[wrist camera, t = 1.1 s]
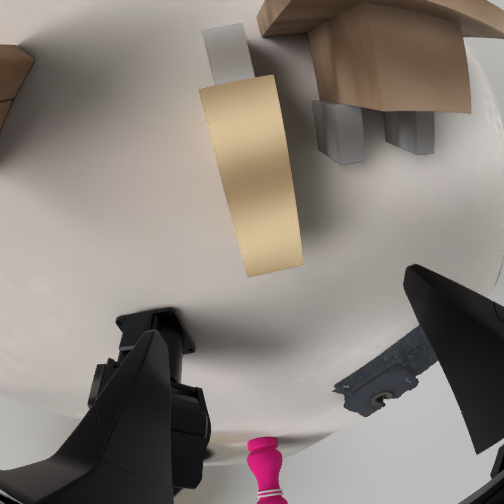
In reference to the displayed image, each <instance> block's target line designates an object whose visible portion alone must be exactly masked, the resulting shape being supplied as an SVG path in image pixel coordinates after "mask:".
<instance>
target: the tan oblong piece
mask: <svg viewBox="0 0 504 504" xmlns="http://www.w3.org/2000/svg"><path fill="white" fill-rule="evenodd" d="M202 34H203V38H204V42H205V46H206V50H207V54H208V58H209V63H210V67H211V71H212V75H213V79H214V83H215V86H211V87H207V88H203V89H200V90H199V93H200V97H201V101H202V105H203V109H204V113H205V117H206V121H207V125H208V129H209V133H210V137H211V141H212V145H213V148H214V152H215V156H216V160H217V164H218V168H219V172H220V176H221V179H222V183H223V187H224V191H225V195H226V199H227V202H228V206H229V210H230V214H231V218H232V221H233V225H234V229H235V233H236V237H237V240H238V244H239V248H240V251H241V255H242V259H243V263H244V266H245V270H246V274H247V277H248V278H249V277H254V276H258V275H262V274H267V273H271V272H276V271H280V270H284V269H289V268H293V267H297V266H301V265H303V256H302V247H301V238H300V230H299V223H298V215H297V208H296V200H295V193H294V186H293V180H292V173H291V167H290V160H289V154H288V148H287V142H286V137H285V131H284V125H283V120H282V114H281V109H280V104H279V99H278V94H277V89H276V84H275V79H274V75H267V76H261V77H255V75H254V71H253V66H252V62H251V58H250V53H249V49H248V45H247V40H246V36H245V32H244V28H243V24H242V23H240V24H234V25H229V26H223V27H218V28H214V29H209V30H205V31H202Z"/></svg>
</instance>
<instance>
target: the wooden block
mask: <svg viewBox="0 0 504 504" xmlns="http://www.w3.org/2000/svg"><path fill="white" fill-rule="evenodd" d="M33 63H34V59H33V58H32V57H31V56H30V55H28V54H27V53H25V52H24V51H23V50H21V49H20V48H19V47H17V46H16V45H0V130H1V127H2V125H3V122H4V120H5V118H6V115H7V113H8V111H9V108H10V106H11V104H12V101H13V100H12V98H14V97H15V96H16V94H17V92H18V90H19V88H20V86H21V84H22V82H23V80H24V79H25V77H26V75H27V73H28V71H29V70H30V68H31V66H32V65H33Z"/></svg>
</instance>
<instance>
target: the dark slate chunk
mask: <svg viewBox="0 0 504 504" xmlns="http://www.w3.org/2000/svg"><path fill="white" fill-rule="evenodd" d="M437 361H438V359H437V357H436V355H435V353H434V351H433V349H432V347H431V345H430V343H429V341H428V339H427V337H426V335H425V333H424V332H423V330H422V328H421V326H420V325H419V326H418V327H416V328H414V329H413V330H412V331H411V332H409V333H408V334H407V335H406V336H404V337H403V338H402V339H400V340H399V341H398V342H396V343H395V344H393V345H392V346H391V347H390V348H388V349H387V350H385V351H384V352H383V353H382V354H381V355H379V356H377V357H376V358H375V359H373V360H372V361H370V362H369V363H367V364H366V365H365V366H363V367H362V368H360V369H359V370H357V371H356V372H354V373H353V374H351V375H350V376H348V377H346V378H345V379H343V380H342V381H340V382H338V383H337V384H335V385H334V388H336V389H335V390H334V391H332V392H336V393H340V394H344V396H345V399H344V400H345V403H344V408H346V409H348V410H349V411H353V412H357V413H359V414H360V415H362V416H364V417H368V416H370V414H372V413H374V412H375V411H376V410H379V409H381V407H384V406H385V403H383V399H391V398H393V399H394V398H399V397H400V396H401V395H402V394H403V393H404V392H406V391H407V390H412V389H413V388H415V387H416V386H417V385H418V383H419V381H418V379H416V378H415V377H416V376H417V375H419V374H421V373H422V372H424V371H425V370H427V369H428V368H429V367H430V366H431V365H433V364H434V363H436V362H437Z"/></svg>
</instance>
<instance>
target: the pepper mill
mask: <svg viewBox="0 0 504 504" xmlns="http://www.w3.org/2000/svg"><path fill="white" fill-rule="evenodd" d="M247 444H248V450H249V451H251V453H250V454H249V455H248V457H247V462H248V465H249V467H250V469H251V471H252V472H253V474H254V475H255V477H256V479H257V481H258V486H259V492H258V493H257V494H258V498H260V500H259V501H258V502H257V504H288V503H287V501H286V500H285V499H284V498H283V497H282V496H281V495H283V493H282V489H280V486H279V481H278V477H279V471H280V469H281V465H282V454H281V453H280V452H279V451H278V450H277V449H276V448H277V447H278V443H277V439H276V438H273V437H263V438H256V439H253V440H250V441H249V442H248V443H247Z"/></svg>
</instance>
